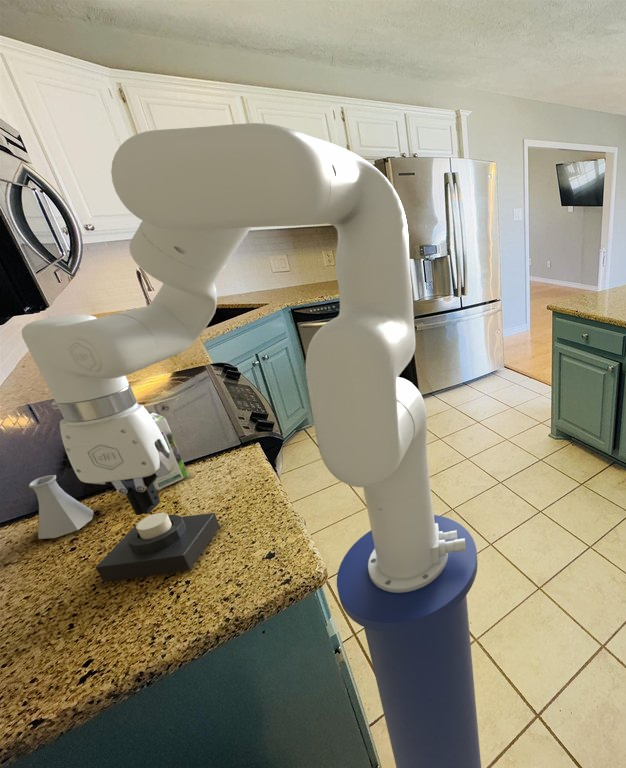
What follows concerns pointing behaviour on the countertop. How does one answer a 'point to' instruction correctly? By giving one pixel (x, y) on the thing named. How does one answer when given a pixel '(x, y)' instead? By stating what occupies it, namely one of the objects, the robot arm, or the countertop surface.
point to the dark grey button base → (160, 549)
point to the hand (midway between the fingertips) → (148, 508)
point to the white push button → (153, 526)
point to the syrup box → (175, 457)
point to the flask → (58, 509)
